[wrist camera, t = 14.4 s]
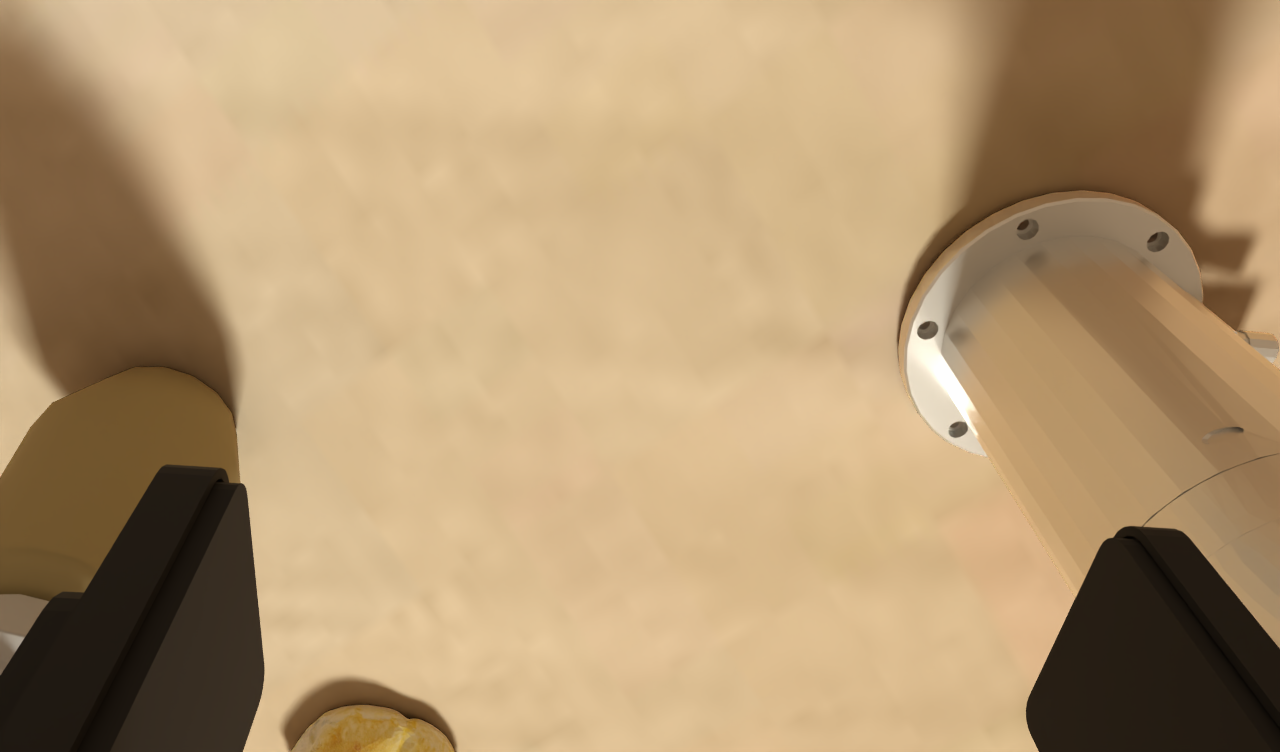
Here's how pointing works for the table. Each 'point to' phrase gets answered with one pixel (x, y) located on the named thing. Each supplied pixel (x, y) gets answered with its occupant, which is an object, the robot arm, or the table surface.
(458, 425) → the table surface
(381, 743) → the bread roll
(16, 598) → the squeeze bottle
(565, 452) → the table surface
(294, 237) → the table surface
